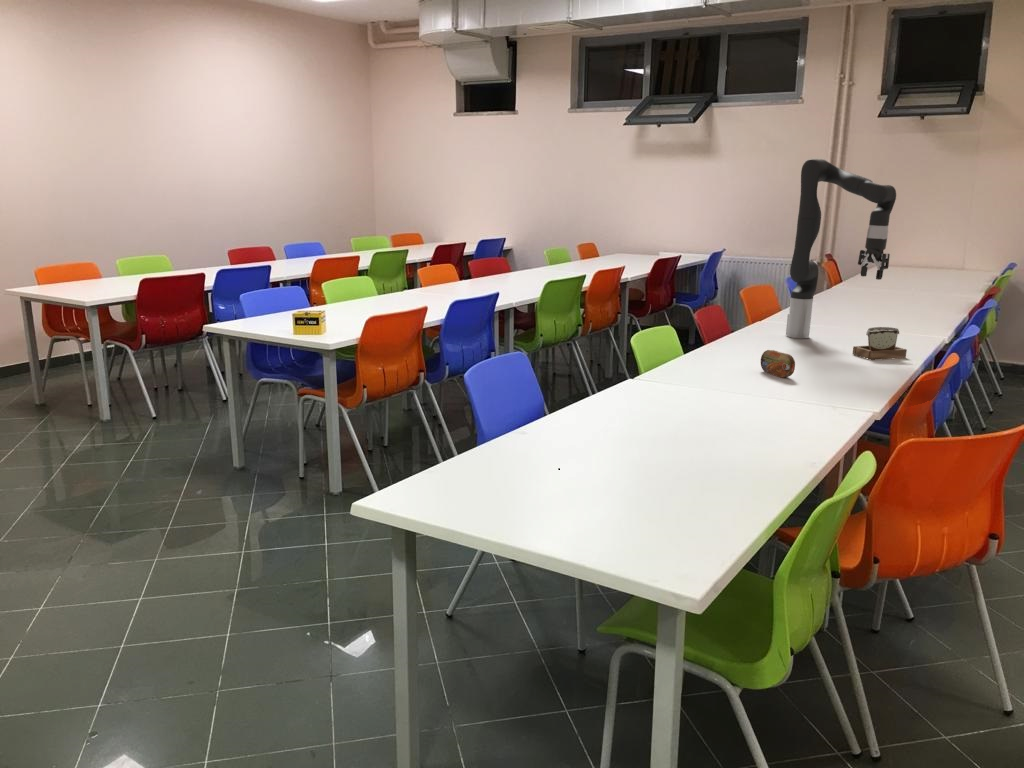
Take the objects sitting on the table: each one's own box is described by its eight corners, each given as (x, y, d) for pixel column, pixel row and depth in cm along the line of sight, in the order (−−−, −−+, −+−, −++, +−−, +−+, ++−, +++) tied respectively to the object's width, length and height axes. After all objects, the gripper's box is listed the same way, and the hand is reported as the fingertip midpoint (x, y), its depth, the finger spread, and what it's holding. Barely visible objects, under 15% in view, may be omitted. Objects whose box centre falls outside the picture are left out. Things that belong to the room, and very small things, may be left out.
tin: (758, 370, 287) (760, 347, 285) (765, 369, 288) (767, 347, 286) (788, 380, 274) (790, 356, 272) (795, 379, 275) (797, 355, 273)
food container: (890, 350, 315) (892, 326, 313) (898, 354, 309) (899, 328, 307) (859, 352, 315) (860, 327, 313) (866, 355, 309) (867, 330, 307)
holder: (852, 354, 315) (853, 346, 314) (885, 352, 320) (886, 344, 319) (871, 360, 305) (872, 351, 304) (905, 357, 310) (906, 349, 309)
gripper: (856, 235, 319) (851, 275, 324) (882, 238, 306) (876, 280, 311) (871, 235, 322) (866, 275, 326) (898, 238, 309) (891, 280, 313)
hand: (870, 277), depth 318 cm, fingers open, 8 cm apart
